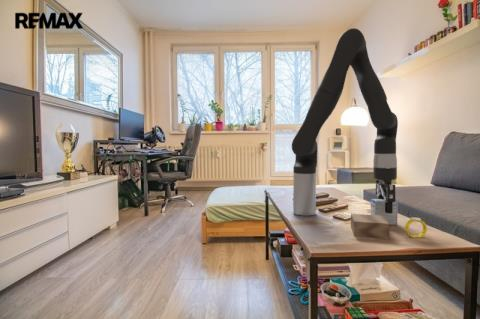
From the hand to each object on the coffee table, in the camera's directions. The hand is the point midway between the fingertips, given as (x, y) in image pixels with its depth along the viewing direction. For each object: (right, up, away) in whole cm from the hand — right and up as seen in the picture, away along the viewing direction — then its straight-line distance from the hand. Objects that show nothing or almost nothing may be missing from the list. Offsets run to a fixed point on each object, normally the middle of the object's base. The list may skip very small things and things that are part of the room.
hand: (384, 210), depth 99 cm
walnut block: (-11, -6, -10) cm, 16 cm away
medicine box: (0, -5, 0) cm, 5 cm away
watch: (+2, -6, -14) cm, 16 cm away
